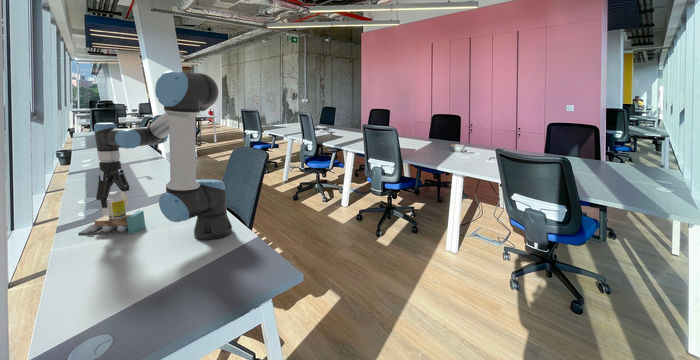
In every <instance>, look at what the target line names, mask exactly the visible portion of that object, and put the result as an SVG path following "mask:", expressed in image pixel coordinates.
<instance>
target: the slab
mask: <svg viewBox="0 0 700 360" xmlns="http://www.w3.org/2000/svg"><path fill="white" fill-rule="evenodd" d="M131 215H132V214H126V216H125V217H124V218H121V219H109V215H103V216H101V217H99V218H97V219H95V220H94V223H95V225H128V224H127V217H129V216H131Z"/></svg>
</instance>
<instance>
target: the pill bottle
mask: <svg viewBox="0 0 700 360" xmlns="http://www.w3.org/2000/svg"><path fill="white" fill-rule="evenodd" d="M120 191H121V190H119V191H118V190H117V191H110V192H109V195H108V198H107V199H109V203H110V211H111V215H109V219H121V218H124V217H125V216H126V215H127V213H126V206H125V205H124V198H123V197H121V192H120Z"/></svg>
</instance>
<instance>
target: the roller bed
mask: <svg viewBox="0 0 700 360" xmlns="http://www.w3.org/2000/svg"><path fill="white" fill-rule="evenodd" d="M130 215H131V216H129V217H127V224H128V225H95V222H94V223H92V224H90V225H89V226H87V227H86V228H84V229H83V230H82V231H80V232H78V233H77V234H78V236H79V235H83V236H84V235H87V236H89V235H134V234H136V233H137V232H139V231H140V230H141V229H143V228H145V226H146V222H145V213H144V210H137V211H136V212H134V213H131V214H130Z"/></svg>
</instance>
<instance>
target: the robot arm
mask: <svg viewBox="0 0 700 360" xmlns="http://www.w3.org/2000/svg"><path fill="white" fill-rule="evenodd" d="M154 91H155V97H156V99H157V101H158V102H159V104H161V105H162V106H163V111H164V112H163V114H161V115H160V116H158V118H156V120H154V121H153V122H151V123H150V124H149V125H148V126H144V127H132V128H117V126H116V123H114V122H97V123H95V124H94V125H93V128H94V129H93V131H94V138H95V143H96V144H95V145H96V149H97V158H98V161H99V163H98V166H99V170H100V171H101V172H103V175H102V174H100V175H98V184H97V189H96V190H97V192H96V196H95V199H96V200H97V201H100V204H101V210H102V215H103V216H105V215H111V211H110V203H109V199H108V198H109V197H108V195H109V192H111V188H112V186H114V184H115V185H116V186H117V187H118V189H119V191H120V192H121V197H123V198H124V205H125V207H128V206H129V198H128V191H130V184H129V182H128V180H127V178H126V176H125V172H124V169H122V163H121V161H120V160H121V154H120V148H122V149H125V150H126V149H127V150H128V149H134V148H137V147H143V146H152V145H160V144H164V143H166V142H167V141H168V139H169V174H170V175H169V176H170V177H169V178H170V180H169V181H168V182H167V183H166V184H165V192H164V193H163V194H161V195H160V196H159V199H158V207H159V209H160V212H161V213H162V215H164V217H165V218H166V219H167V220H168V221H170V222H172V223H180V222H184V221H185V222H186V221H188V220H191V219H192V218H196V221H195V224H194V229H193V237H194V238H195V239H199V240H203V241H206V240H207V241H210V240H211V239H213V240H218V239H217V238H219V239H222V237H223V238H226V237H228V236H230V235H232V233H233V226H232V223H231V221H230V219H229V217H228V212H227V195H226V194H227V193H226V186H225V182H224V181H222V180H219V179H211V178H210V179H209V178H208V179H207V178H206V179H205V178H203V179H197V178H196V177H197V175H196V174H197V173H196V172H197V170H196V169H197V164H196V163H197V162H196V159H197V158H196V157H197V155H196V153H197V152H196V145H197V143H196V142H197V140H196V139H197V138H196V137H197V136H196V135H197V134H196V132H197V131H196V130H197V129H196V124H197V123H196V119H197V118H196V117H197V116H198V115H199V114H200V113H201V112H205V111H207V110H208V109H209V108H210V107H212V106H213V105H214V104H215V103H216V102H217V100H218V99H219V98H218V97H219V87H218V84H217V83H216V81H215V80H214V79H213V78H212V77H211V76H209V75H207V74H205V73H202V72H201V73H200V72H189V71H181V70H168V71H165V72H163V73H162V74H161V75H160V76H159V77H158V79H157V80H156V82H155V89H154ZM229 234H230V235H229ZM227 235H228V236H227ZM225 236H226V237H225Z"/></svg>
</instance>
